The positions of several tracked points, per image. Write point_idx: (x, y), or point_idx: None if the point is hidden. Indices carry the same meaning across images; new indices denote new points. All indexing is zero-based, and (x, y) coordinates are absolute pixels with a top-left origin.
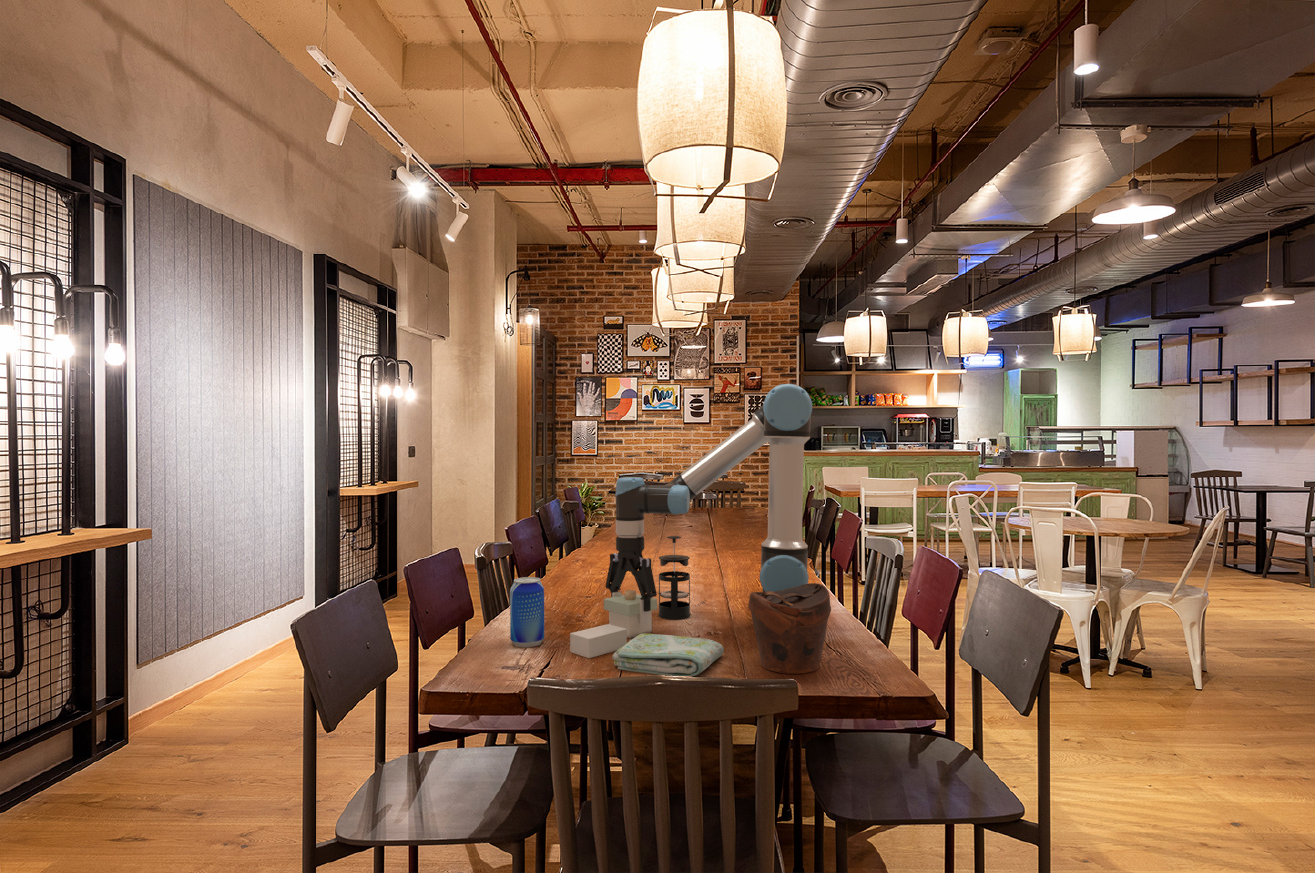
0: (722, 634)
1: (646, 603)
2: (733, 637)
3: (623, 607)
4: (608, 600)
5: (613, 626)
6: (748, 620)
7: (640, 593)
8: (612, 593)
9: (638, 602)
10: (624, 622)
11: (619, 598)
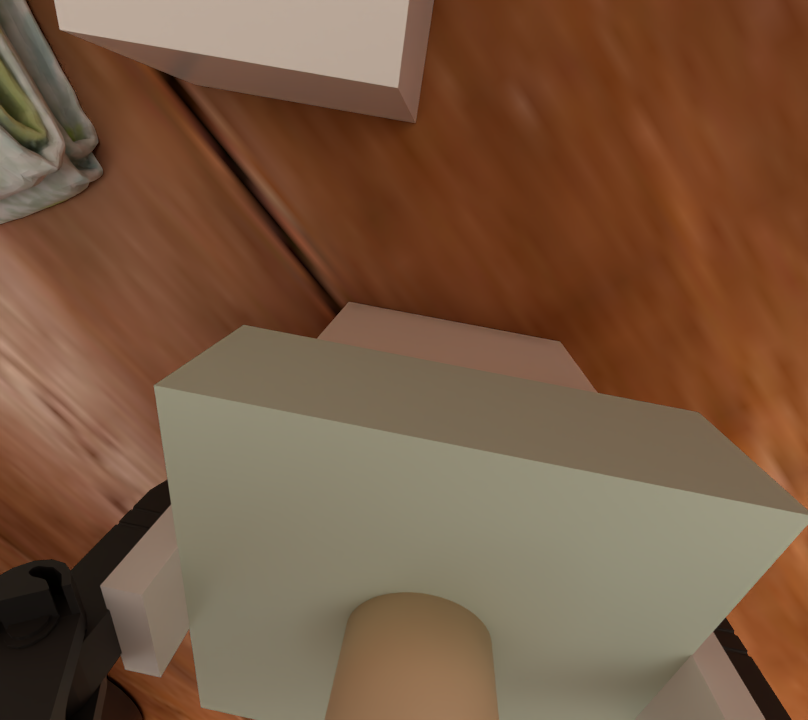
0: (79, 558)
1: (96, 549)
2: (18, 543)
3: (315, 383)
4: (676, 483)
5: (259, 23)
6: (169, 703)
7: (57, 698)
8: (755, 713)
9: (195, 547)
10: (384, 349)
11: (561, 613)
